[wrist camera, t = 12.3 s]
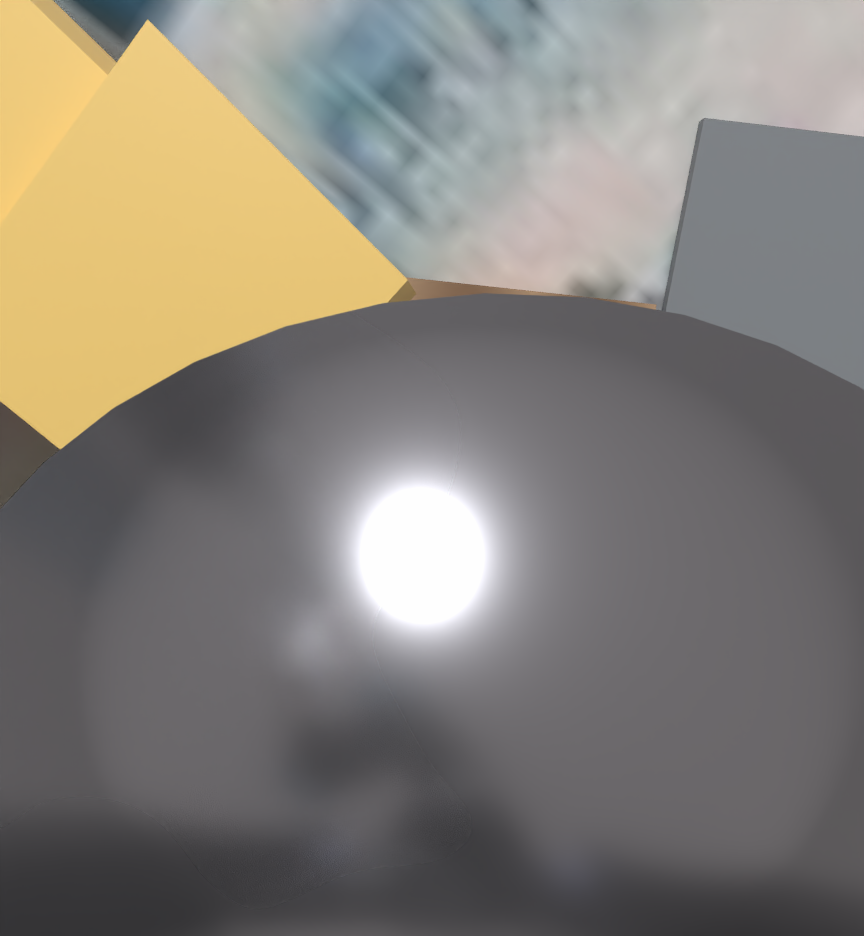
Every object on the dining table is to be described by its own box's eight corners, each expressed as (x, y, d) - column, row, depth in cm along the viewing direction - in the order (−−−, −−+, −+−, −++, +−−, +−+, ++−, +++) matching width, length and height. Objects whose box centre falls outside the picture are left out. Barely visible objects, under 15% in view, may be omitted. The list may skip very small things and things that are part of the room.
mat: (649, 373, 23) (652, 374, 22) (699, 121, 20) (704, 118, 20) (868, 396, 23) (876, 398, 23) (942, 150, 21) (952, 147, 20)
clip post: (383, 411, 21) (-39, 1224, 2) (392, 311, 20) (-215, 212, 1) (479, 420, 21) (879, 1284, 2) (491, 322, 21) (1322, 376, 1)
